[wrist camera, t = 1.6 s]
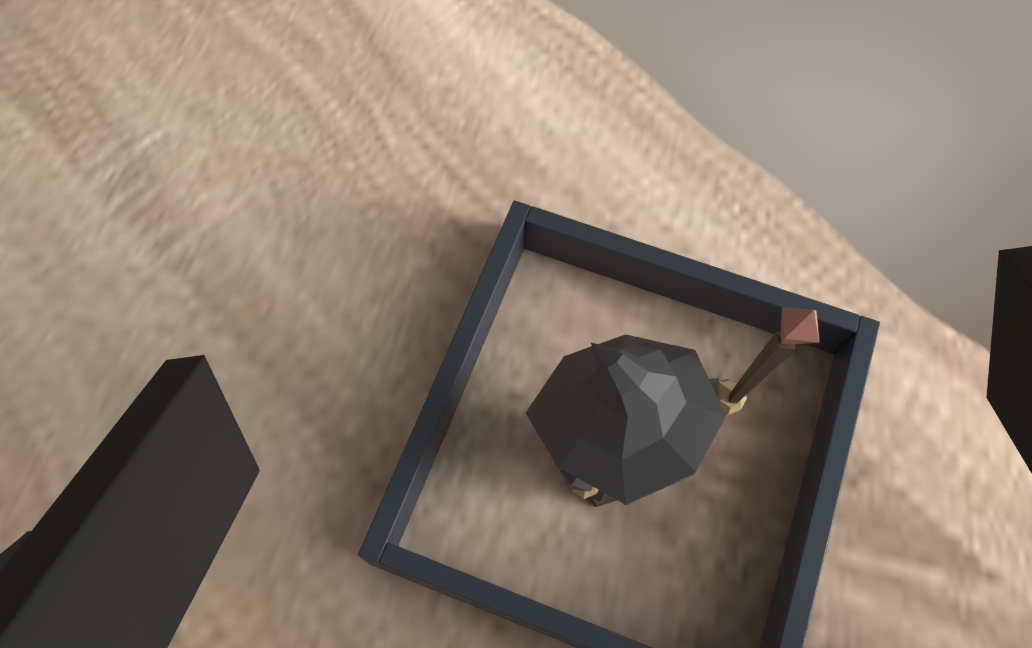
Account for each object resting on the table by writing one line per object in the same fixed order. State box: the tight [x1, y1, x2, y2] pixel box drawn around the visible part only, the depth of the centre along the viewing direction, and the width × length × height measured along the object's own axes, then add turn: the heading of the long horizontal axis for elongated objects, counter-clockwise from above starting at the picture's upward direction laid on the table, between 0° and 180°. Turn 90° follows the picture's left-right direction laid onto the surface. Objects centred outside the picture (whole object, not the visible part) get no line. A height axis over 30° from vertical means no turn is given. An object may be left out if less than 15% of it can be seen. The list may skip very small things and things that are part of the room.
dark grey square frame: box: [358, 201, 880, 648], centre depth 33 cm, size 16×16×2 cm
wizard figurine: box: [526, 307, 819, 507], centre depth 29 cm, size 8×6×12 cm
